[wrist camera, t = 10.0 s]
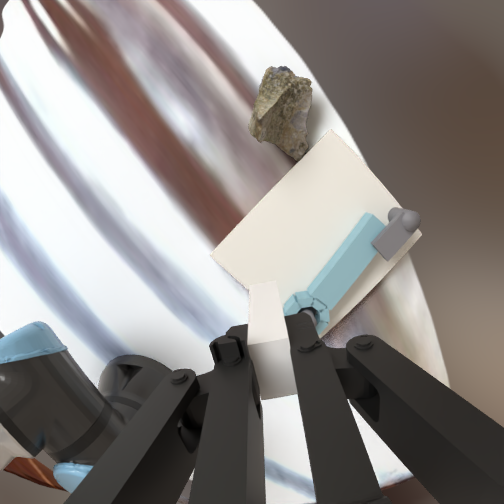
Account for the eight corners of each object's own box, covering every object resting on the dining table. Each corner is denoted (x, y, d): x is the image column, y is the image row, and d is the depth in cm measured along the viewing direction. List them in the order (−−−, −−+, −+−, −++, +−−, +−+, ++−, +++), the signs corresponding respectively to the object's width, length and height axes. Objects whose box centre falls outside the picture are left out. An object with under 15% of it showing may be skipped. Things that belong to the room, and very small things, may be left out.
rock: (309, 164, 36) (254, 142, 28) (272, 157, 40) (215, 139, 32) (328, 82, 33) (279, 45, 26) (291, 82, 37) (240, 52, 30)
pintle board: (311, 341, 42) (318, 363, 36) (210, 253, 39) (203, 265, 34) (418, 232, 39) (440, 241, 33) (329, 130, 36) (341, 122, 30)
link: (307, 336, 40) (309, 345, 38) (274, 315, 40) (276, 323, 37) (389, 233, 37) (397, 236, 35) (359, 206, 36) (366, 208, 34)
